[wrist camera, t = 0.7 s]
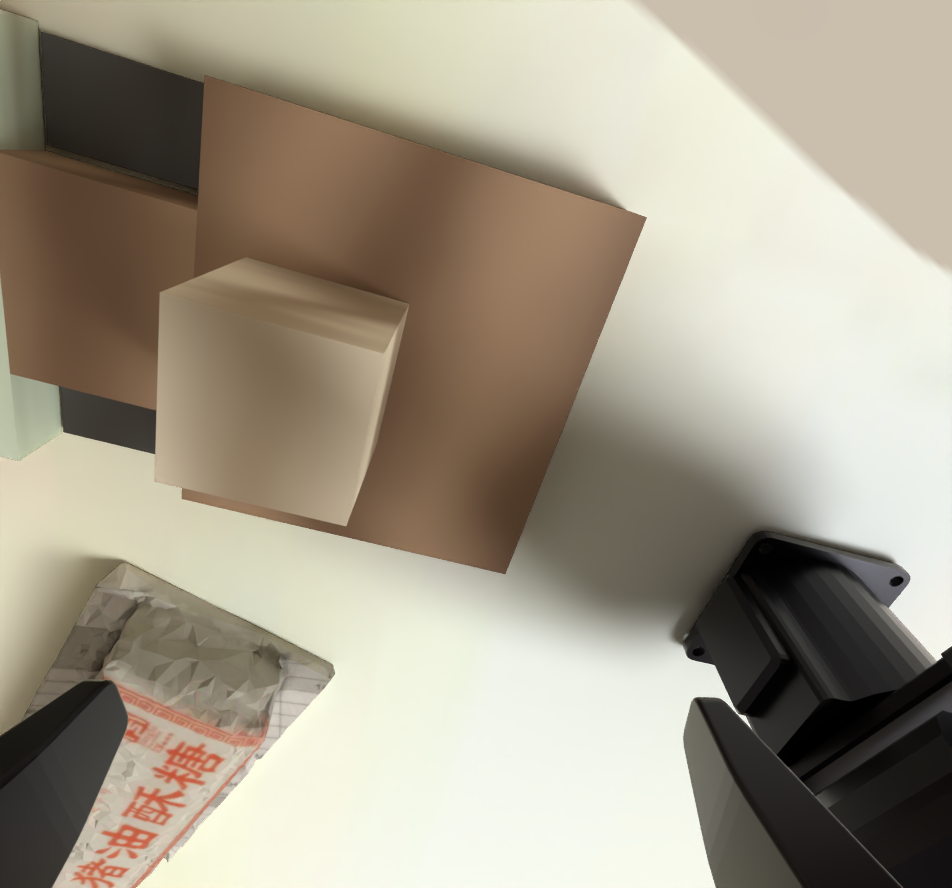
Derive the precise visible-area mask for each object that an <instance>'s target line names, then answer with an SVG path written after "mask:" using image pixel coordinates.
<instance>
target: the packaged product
mask: <svg viewBox="0 0 952 888" xmlns="http://www.w3.org/2000/svg"><path fill="white" fill-rule="evenodd" d="M334 675H335V671H334V668H333V665H332V664H330V663H328V662H326V661H324V660H322V659H320V658H319V657H317V656H315V655H313V654H311V653H309V652H307V651H305V650H303V649H301V648H299V647H297V646H295V645H293V644H291V643H289V642H287V641H285V640H283V639H281V638H279V637H277V636H275V635H273V634H271V633H269V632H267V631H265V630H263V629H261V628H259V627H257V626H255V625H253V624H251V623H249V622H247V621H245V620H243V619H241V618H239V617H237V616H235V615H232V614H230V613H228V612H226V611H224V610H221V609H219V608H217V607H215V606H213V605H211V604H209V603H208V602H206V601H204V600H202V599H200V598H198V597H196V596H194V595H192V594H190V593H188V592H186V591H184V590H182V589H180V588H178V587H175V586H173V585H171V584H169V583H167V582H165V581H163V580H161V579H159V578H157V577H155V576H153V575H151V574H149V573H147V572H145V571H143V570H141V569H138V568H136V567H134V566H132V565H130V564H128V563H121V564H120V565H118V566H117V567H116V568H115V569H114V570H113V571H112V572H111V573H109V574H108V575H107V576H106V577H105V578H104V579H103V580H102V581H100V582H99V583H98V584H97V585H96V586H95V589H94V591H93V593H92V595H91V596H90V598H89V600H88V602H87V604H86V606H85V607H84V609H83V611H82V613H81V615H80V617H79V618H78V620H77V622H76V624H75V626H74V628H73V630H72V631H71V633H70V635H69V637H68V639H67V640H66V642H65V644H64V646H63V648H62V649H61V651H60V653H59V655H58V657H57V658H56V660H55V662H54V664H53V665H52V667H51V669H50V671H49V672H48V674H47V676H46V677H45V679H44V681H43V682H42V684H41V686H40V688H39V689H38V691H37V693H36V695H35V696H34V698H33V701H32V703H31V705H30V707H29V708H28V710H27V711H26V713H25V715H24V717H23V719H22V721H23V720H24V719H26V718H27V717H29V716H30V715H32V714H33V713H35V712H36V711H38V710H39V709H41V708H42V707H44V706H45V705H47V704H48V703H50V702H51V701H53V700H54V699H56V698H57V697H59V696H60V695H62V694H63V693H65V692H66V691H68V690H69V689H71V688H72V687H74V686H75V685H77V684H78V683H80V682H82V681H84V680H88V679H101V680H112V681H113V682H114V683H115V684H116V685H117V688H118V690H119V693H120V695H121V698H122V700H123V703H124V705H125V708H126V710H127V713H128V725H127V729H126V732H125V734H124V737H123V739H122V741H121V744H120V746H119V748H118V751H117V753H116V755H115V757H114V760H113V762H112V764H111V767H110V769H109V771H108V774H107V776H106V778H105V780H104V783H103V785H102V787H101V790H100V792H99V794H98V797H97V799H96V801H95V803H94V806H93V808H92V810H91V813H90V815H89V817H88V819H87V822H86V824H85V826H84V828H83V830H82V832H81V834H80V836H79V838H78V840H77V842H76V844H75V846H74V848H73V850H72V852H71V854H70V856H69V858H68V859H67V861H66V863H65V865H64V867H63V869H62V871H61V872H60V874H59V876H58V878H57V880H56V882H55V883H54V885H53V887H52V888H136V887H138V885H139V884H140V883H141V882H142V881H143V880H144V879H145V878H146V877H148V876H149V875H150V874H151V873H152V872H153V871H154V869H155V868H156V867H157V865H158V864H159V862H160V861H161V860H162V859H163V858H165V859H166V860H167V862H168V861H169V860H170V859H171V857H172V856H173V855H174V854H175V853H176V852H177V851H178V850H179V848H180V847H183V846H184V844H185V843H186V842H187V841H188V840H189V838H190V837H191V836H192V835H193V833H194V832H195V830H196V829H197V828H198V827H199V826H200V825H201V824H202V823H203V822H204V821H205V820H206V818H207V817H208V816H209V815H210V814H211V813H212V812H213V811H214V810H215V809H216V808H217V807H218V806H219V805H220V804H221V803H222V801H223V800H224V799H225V798H226V797H227V796H228V795H229V794H230V792H231V791H232V790H233V789H234V788H235V787H236V786H237V785H238V784H239V783H240V782H241V781H242V780H243V779H244V777H245V776H246V775H247V774H248V773H249V771H250V770H251V768H252V766H253V765H254V763H255V761H256V760H257V759H261V758H262V756H263V755H264V754H265V753H266V752H267V751H268V750H269V749H270V748H271V746H272V745H273V744H274V743H275V742H276V741H277V740H278V739H279V738H280V736H281V735H282V734H283V733H284V731H285V730H286V728H288V727H289V726H290V725H291V724H292V723H293V722H294V721H295V720H296V718H297V717H298V716H299V715H300V714H301V713H302V712H303V711H304V710H305V709H306V708H307V707H308V705H309V704H310V703H311V702H312V701H313V700H314V699H315V698H316V696H317V695H318V694H319V693H320V692H321V691H322V690H323V689H324V688H325V686H326V685H327V684H328V683H329V681H330V680H331V679H332V677H333V676H334Z"/></svg>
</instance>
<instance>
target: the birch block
mask: <svg viewBox="0 0 952 888" xmlns="http://www.w3.org/2000/svg"><path fill="white" fill-rule="evenodd" d="M408 307H409V304H408V303H405V302H401V301H398V300H394V299H391V298H387V297H384V296H380V295H377V294H373V293H370V292H366V291H363V290H359V289H356V288H352V287H349V286H345V285H342V284H338V283H335V282H331V281H328V280H324V279H321V278H317V277H314V276H310V275H307V274H303V273H300V272H296V271H293V270H289V269H286V268H282V267H279V266H275V265H272V264H268V263H265V262H261V261H258V260H254V259H251V258H247V257H245V258H243V259H240V260H238V261H235V262H233V263H230V264H228V265H226V266H223V267H221V268H218V269H216V270H213V271H211V272H208V273H206V274H204V275H201V276H199V277H196V278H194V279H191V280H189V281H186V282H184V283H182V284H179V285H177V286H174V287H172V288H169V289H167V290H164V291H162V292H160V303H159V339H158V375H157V412H156V448H155V482H159V483H164V484H168V485H172V486H176V487H181V488H185V489H189V490H193V491H198V492H202V493H206V494H210V495H215V496H219V497H223V498H227V499H232V500H236V501H240V502H244V503H249V504H253V505H257V506H262V507H266V508H270V509H274V510H279V511H283V512H287V513H291V514H296V515H300V516H304V517H308V518H313V519H317V520H321V521H325V522H330V523H334V524H338V525H342V526H347V523H348V520H349V517H350V515H351V512H352V509H353V507H354V504H355V501H356V499H357V496H358V493H359V490H360V488H361V485H362V482H363V480H364V477H365V474H366V472H367V469H368V466H369V463H370V461H371V458H372V455H373V453H374V450H375V447H376V445H377V441H378V437H379V433H380V429H381V424H382V420H383V416H384V411H385V407H386V403H387V398H388V394H389V390H390V385H391V381H392V377H393V372H394V368H395V364H396V359H397V355H398V351H399V346H400V342H401V338H402V333H403V329H404V325H405V320H406V316H407V312H408Z"/></svg>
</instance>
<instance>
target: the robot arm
mask: <svg viewBox="0 0 952 888" xmlns="http://www.w3.org/2000/svg"><path fill="white" fill-rule="evenodd" d="M765 543H767V544H766V545H765V546H763V547H760V546H761V545H762V544H765ZM909 581H910V575H909V574H908V573H907V572H906V571H905V570H904V569H903V568H902V567H901V566H899V565H897V564H893V563H889V562H885V561H881V560H877V559H874V558H870V557H866V556H862V555H858V554H854V553H850V552H846V551H842V550H839V549H835V548H831V547H827V546H823V545H819V544H815V543H811V542H807V541H804V540H800V539H796V538H792V537H788V536H784V535H780V534H776V533H772V532H769V531H761V532H757V533H755V534H754V535H752V536H751V537H750V538H749V540H748V541H747V543H746V545H745V546H744V548H743V549H742V551H741V553H740V554H739V556H738V557H737V559H736V561H735V562H734V564H733V565H732V567H731V569H730V570H729V572H728V573H727V575H726V576H725V578H724V579H723V581H722V582H721V584H720V586H719V587H718V589H717V590H716V592H715V594H714V595H713V597H712V598H711V600H710V602H709V603H708V605H707V606H706V608H705V609H704V611H703V613H702V614H701V616H700V617H699V619H698V621H697V623H696V624H695V626H694V627H693V629H692V631H691V632H690V634H689V635H688V637H687V638H686V640H685V642H684V644H683V647H684V650H685V652H686V655H687V657H688V658H689V659H692V660H695V661H699V662H704V663H708V664H713V665H715V666H716V669H717V671H718V673H719V675H720V677H721V679H722V682H723V684H724V686H725V688H726V690H727V692H728V695H729V697H730V699H731V701H732V703H733V705H734V707H735V709H736V711H737V712H738V714H741V715H745V716H746V717H747V720H748V722H749V724H750V726H751V728H752V729H751V728H750V727H749V726H748V725H747V724H746V723H745V722H744V721H743V720H742V719H741V718H740V717H739V716H738V715H737V714H736V713H735V712H734V711H733V710H732V708H731V707H730V706H729V705H728V704H727V703H726V702H724V701H723V700H721V699H719V698H708V697H697V698H694V699H693V700H692V702H691V705H690V709H689V713H688V717H687V721H686V725H685V729H684V736H683V740H684V749H685V754H686V759H687V764H688V769H689V774H690V778H691V783H692V788H693V793H694V798H695V802H696V807H697V812H698V817H699V822H700V826H701V831H702V836H703V841H704V845H705V850H706V854H707V858H708V862H709V866H710V869H711V873H712V876H713V880H714V883H715V886H716V888H952V646H951V647H950V648H948V649H947V650H946V651H944V652H943V653H941V655H942V657H943V658H941V659H940V660H938V661H936V660H935V659H934V658H933V657H932V655H931V654H930V653H929V652H928V651H927V650H926V649H925V648H924V647H923V646H922V644H921V643H920V642H919V641H918V640H917V639H916V638H915V637H914V636H913V635H912V633H911V632H910V631H909V630H908V629H907V628H906V627H905V626H904V625H903V624H902V622H901V621H900V620H899V619H898V618H897V617H896V616H895V615H894V614H893V613H892V611H891V610H890V609H889V607H890V605H891V604H892V603H893V602H894V601H895V599H896V598H897V597H898V596H899V595H900V593H901V592H902V591H903V590H904V588H905V587H906V586H907V585H908V583H909ZM698 647H699V648H698ZM695 648H696V649H695ZM127 725H128V713H127V710H126V708H125V705H124V703H123V700H122V698H121V695H120V693H119V690H118V688H117V685H116V684H115V683H114V682H113V681H112V680H101V679H88V680H84V681H82V682H80V683H78V684H77V685H75V686H74V687H72V688H71V689H69V690H68V691H66V692H65V693H63V694H62V695H60V696H59V697H57V698H56V699H54V700H53V701H51V702H50V703H48V704H47V705H45V706H44V707H42V708H41V709H39V710H38V711H36V712H35V713H33V714H32V715H30V716H29V717H27V718H26V719H24V720H23V721H21V722H20V723H18V724H17V725H15V726H14V727H12V728H11V729H9V730H8V731H6V732H5V733H3V734H2V735H0V888H52V887H53V885H54V883H55V882H56V880H57V878H58V876H59V874H60V872H61V871H62V869H63V867H64V865H65V863H66V861H67V859H68V858H69V856H70V854H71V852H72V850H73V848H74V846H75V844H76V842H77V840H78V838H79V836H80V834H81V832H82V830H83V828H84V826H85V824H86V822H87V819H88V817H89V815H90V813H91V810H92V808H93V806H94V803H95V801H96V799H97V797H98V794H99V792H100V790H101V787H102V785H103V783H104V780H105V778H106V776H107V774H108V771H109V769H110V767H111V764H112V762H113V760H114V757H115V755H116V753H117V751H118V748H119V746H120V744H121V741H122V739H123V737H124V734H125V732H126V729H127Z"/></svg>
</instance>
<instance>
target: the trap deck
mask: <svg viewBox="0 0 952 888" xmlns="http://www.w3.org/2000/svg"><path fill="white" fill-rule="evenodd" d="M41 44H42V61H43V79H44V97H45V114H46V132H47V145H50V146H53V147H56V148H60V149H63V150H67V151H70V152H73V153H77V154H80V155H83V156H87V157H90V158H93V159H97V160H100V161H104V162H107V163H110V164H114V165H117V166H120V167H124V168H127V169H130V170H134V171H137V172H141V173H144V174H147V175H151V176H154V177H157V178H161V179H164V180H167V181H171V182H174V183H177V184H181V185H184V186H188V187H191V188H194V189H198V196H197V195H193V194H190V193H187V192H183V191H180V190H176V189H173V188H170V187H166V186H163V185H160V184H156V183H153V182H149V181H146V180H143V179H139V178H136V177H133V176H129V175H126V174H122V173H119V172H116V171H112V170H109V169H106V168H102V167H99V166H95V165H92V164H89V163H85V162H82V161H79V160H75V159H72V158H68V157H65V156H62V155H58V154H55V153H52V152H48V151H45V141H44V124H43V106H42V89H41V72H40V55H39V38H38V21H36V20H33V19H30V18H26V17H23V16H20V15H17V14H14V13H11V12H8V11H5V10H2V9H0V457H4V458H8V459H13V460H17V461H19V460H21V459H22V458H24V457H26V456H27V455H29V454H30V453H32V452H33V451H35V450H36V449H38V448H39V447H41V446H43V445H44V444H46V443H47V442H49V441H50V440H52V439H53V438H55V437H56V436H58V435H59V434H61V433H62V431H61V414H60V397H59V386H60V387H61V397H62V414H63V432H65V433H69V434H73V435H78V436H82V437H86V438H90V439H94V440H98V441H103V442H107V443H111V444H115V445H119V446H123V447H128V448H132V449H136V450H140V451H144V452H148V453H152V454H155V448H156V412H157V375H158V339H159V303H160V292H162V291H164V290H167V289H169V288H172V287H174V286H177V285H179V284H182V283H184V282H186V281H189V280H191V279H194V278H196V277H199V276H201V275H204V274H206V273H208V272H211V271H213V270H216V269H218V268H221V267H223V266H226V265H228V264H230V263H233V262H235V261H238V260H240V259H243V258H245V257H247V258H251V259H254V260H258V261H261V262H265V263H268V264H272V265H275V266H279V267H282V268H286V269H289V270H293V271H296V272H300V273H303V274H307V275H310V276H314V277H317V278H321V279H324V280H328V281H331V282H335V283H338V284H342V285H345V286H349V287H352V288H356V289H359V290H363V291H366V292H370V293H373V294H377V295H380V296H384V297H387V298H391V299H394V300H398V301H401V302H405V303H408V304H409V307H408V312H407V316H406V320H405V325H404V329H403V333H402V338H401V342H400V346H399V351H398V355H397V359H396V364H395V368H394V372H393V377H392V381H391V385H390V390H389V394H388V398H387V403H386V407H385V411H384V416H383V420H382V424H381V429H380V433H379V437H378V441H377V445H376V447H375V450H374V453H373V455H372V458H371V461H370V463H369V466H368V469H367V472H366V474H365V477H364V480H363V482H362V485H361V488H360V490H359V493H358V496H357V499H356V501H355V504H354V507H353V509H352V512H351V515H350V517H349V520H348V523H347V526H342V525H338V524H334V523H330V522H325V521H321V520H317V519H313V518H308V517H304V516H300V515H296V514H291V513H287V512H283V511H279V510H274V509H270V508H266V507H262V506H257V505H253V504H249V503H244V502H240V501H236V500H232V499H227V498H223V497H219V496H215V495H210V494H206V493H202V492H198V491H193V490H189V489H185V488H182V499H185V500H189V501H193V502H198V503H202V504H206V505H210V506H215V507H219V508H223V509H228V510H232V511H236V512H241V513H245V514H249V515H253V516H258V517H262V518H266V519H271V520H275V521H279V522H284V523H288V524H292V525H296V526H301V527H305V528H309V529H314V530H318V531H322V532H327V533H331V534H335V535H339V536H344V537H348V538H352V539H357V540H361V541H365V542H369V543H374V544H378V545H382V546H387V547H391V548H395V549H400V550H404V551H408V552H412V553H417V554H421V555H425V556H430V557H434V558H438V559H443V560H447V561H451V562H455V563H460V564H464V565H468V566H473V567H477V568H481V569H486V570H490V571H494V572H498V573H503V574H506V571H507V568H508V566H509V563H510V561H511V558H512V556H513V553H514V551H515V548H516V546H517V543H518V541H519V538H520V536H521V533H522V531H523V528H524V526H525V523H526V521H527V518H528V516H529V513H530V511H531V508H532V505H533V503H534V500H535V498H536V495H537V493H538V490H539V488H540V485H541V483H542V480H543V478H544V475H545V473H546V470H547V468H548V465H549V463H550V460H551V458H552V455H553V453H554V450H555V448H556V445H557V442H558V440H559V437H560V435H561V432H562V430H563V427H564V425H565V422H566V420H567V417H568V415H569V412H570V410H571V407H572V405H573V402H574V400H575V397H576V395H577V392H578V390H579V387H580V385H581V382H582V379H583V377H584V374H585V372H586V369H587V367H588V364H589V362H590V359H591V357H592V354H593V352H594V349H595V347H596V344H597V342H598V339H599V337H600V334H601V332H602V329H603V327H604V324H605V321H606V319H607V316H608V314H609V311H610V309H611V306H612V304H613V301H614V299H615V296H616V294H617V291H618V289H619V286H620V284H621V281H622V279H623V276H624V274H625V271H626V269H627V266H628V264H629V261H630V258H631V256H632V253H633V251H634V248H635V246H636V243H637V241H638V238H639V236H640V233H641V231H642V228H643V226H644V223H645V221H646V218H647V217H644V216H641V215H638V214H635V213H632V212H630V211H627V210H623V209H620V208H617V207H614V206H611V205H608V204H605V203H602V202H599V201H595V200H592V199H589V198H586V197H583V196H580V195H577V194H574V193H571V192H567V191H564V190H561V189H558V188H555V187H552V186H549V185H546V184H543V183H539V182H536V181H533V180H530V179H527V178H524V177H521V176H518V175H515V174H511V173H508V172H505V171H502V170H499V169H496V168H493V167H490V166H487V165H483V164H480V163H477V162H474V161H471V160H468V159H465V158H462V157H459V156H456V155H452V154H449V153H446V152H443V151H440V150H437V149H434V148H431V147H428V146H424V145H421V144H418V143H415V142H412V141H409V140H406V139H403V138H400V137H396V136H393V135H390V134H387V133H384V132H381V131H378V130H375V129H372V128H368V127H365V126H362V125H359V124H356V123H353V122H350V121H347V120H344V119H340V118H337V117H334V116H331V115H328V114H325V113H322V112H319V111H316V110H312V109H309V108H306V107H303V106H300V105H297V104H294V103H291V102H288V101H285V100H281V99H278V98H275V97H272V96H269V95H266V94H263V93H260V92H257V91H253V90H250V89H247V88H244V87H241V86H238V85H235V84H231V83H228V82H225V81H222V80H218V79H215V78H212V77H209V76H205V78H204V83H201V82H198V81H195V80H191V79H188V78H185V77H182V76H179V75H176V74H173V73H170V72H166V71H163V70H160V69H157V68H154V67H151V66H148V65H145V64H141V63H138V62H135V61H132V60H129V59H126V58H123V57H120V56H116V55H113V54H110V53H107V52H104V51H101V50H98V49H95V48H91V47H88V46H85V45H82V44H79V43H76V42H73V41H70V40H66V39H63V38H60V37H57V36H54V35H51V34H48V33H44V32H41Z"/></svg>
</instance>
